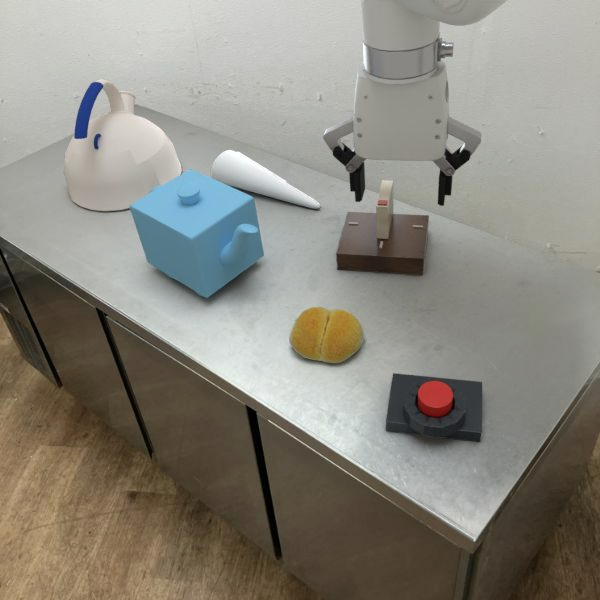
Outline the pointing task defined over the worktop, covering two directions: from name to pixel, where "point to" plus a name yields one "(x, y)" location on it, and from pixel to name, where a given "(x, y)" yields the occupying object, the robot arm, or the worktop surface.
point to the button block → (410, 420)
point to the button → (435, 399)
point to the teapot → (198, 231)
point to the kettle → (116, 153)
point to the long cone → (256, 179)
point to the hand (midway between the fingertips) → (400, 197)
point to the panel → (383, 244)
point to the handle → (384, 209)
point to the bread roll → (326, 335)
